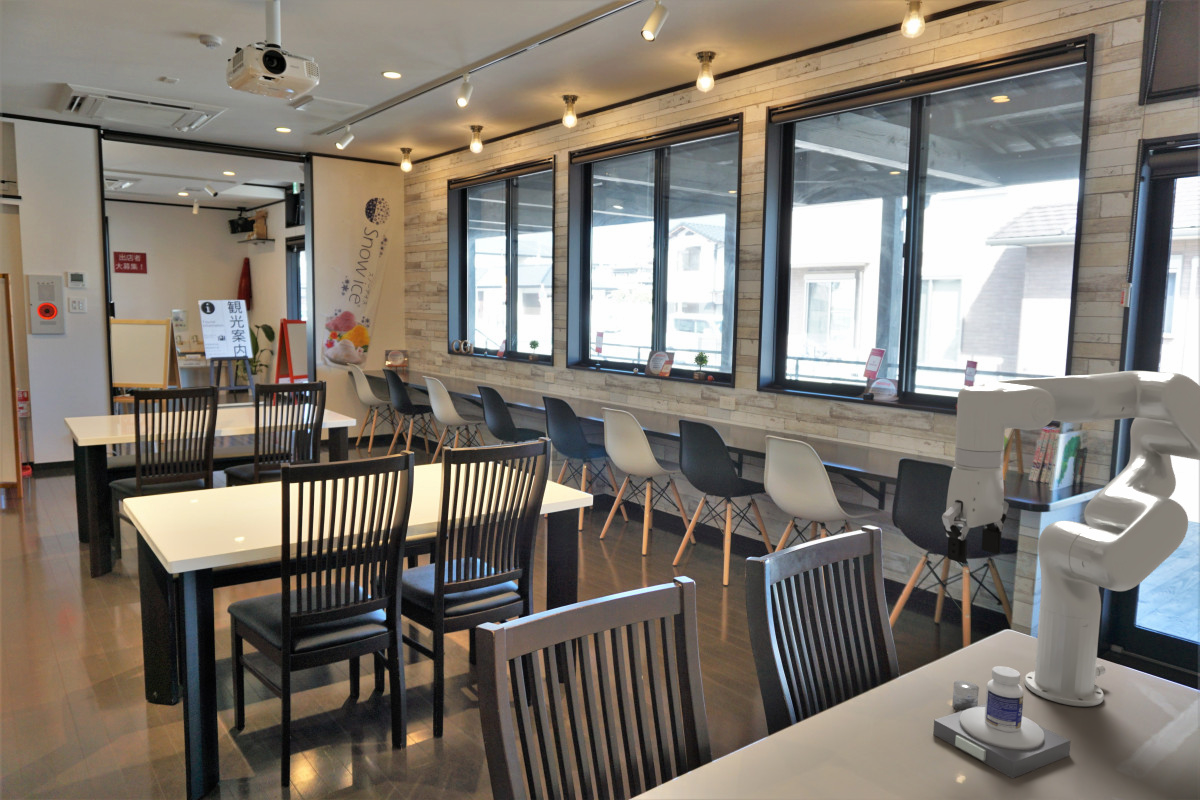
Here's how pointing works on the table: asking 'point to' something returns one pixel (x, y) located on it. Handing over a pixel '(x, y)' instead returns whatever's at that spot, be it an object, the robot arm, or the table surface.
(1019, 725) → the pill bottle
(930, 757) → the table surface
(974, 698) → the cylinder
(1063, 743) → the scale
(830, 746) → the table surface
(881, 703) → the table surface
